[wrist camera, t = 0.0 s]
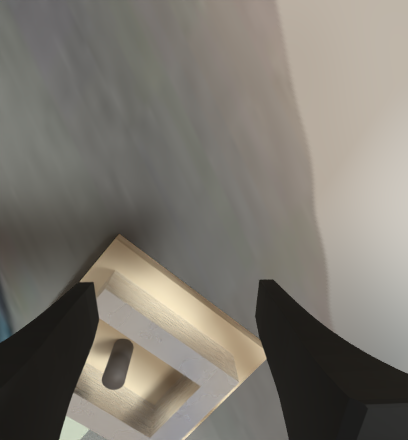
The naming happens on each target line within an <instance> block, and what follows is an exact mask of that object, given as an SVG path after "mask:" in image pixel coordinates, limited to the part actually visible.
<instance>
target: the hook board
mask: <svg viewBox="0 0 408 440" xmlns="http://www.w3.org/2000/svg"><path fill="white" fill-rule="evenodd" d="M115 270H116V271H118V272H119V273H120V274H122V275H123V276H125V277H126V278H127V279H129V280H130V281H132V282H133V283H134V284H136V285H137V286H139V287H140V288H141V289H143V290H144V291H145V292H147V293H148V294H150V295H151V296H152V297H154V298H155V299H157V300H158V301H159V302H161V303H162V304H164V305H165V306H166V307H168V308H169V309H170V310H172V311H173V312H175V313H176V314H177V315H179V316H180V317H182V318H183V319H184V320H186V321H187V322H189V323H190V324H191V325H193V326H194V327H195V328H197V329H198V330H200V331H201V332H202V333H204V334H205V335H207V336H208V337H209V338H211V339H212V340H213V341H215V342H216V343H218V344H219V345H220V346H222V347H223V348H225V349H226V350H227V351H229V352H230V353H232V354H233V356H234V361H235V365H236V370H237V375H238V379H239V383H238V384H237V385H236V386H235V387H234V388H233V389H232V390H231V391H230V392H229V393H228V394H227V395H226V396H225V397H224V398H223V399H222V400H221V401H220V402H219V403H218V404H217V405H216V406H215V407H214V408H213V409H212V410H211V411H210V412H209V413H208V414H207V415H206V416H205V417H204V418H203V419H202V420H201V421H200V422H199V423H198V424H197V425H196V426H195V427H194V428H193V429H192V430H191V431H190V432H189V433H188V434H187V435H186V436H185V437H184V438H183V439H181V440H184V439H185V438H186V437H188V436H189V435H190V434H191V433H192V432H193V431H194V430H195V429H196V428H197V427H198V426H199V425H200V424H201V423H202V422H203V421H204V420H205V419H206V418H207V417H208V416H209V415H210V414H211V413H212V412H213V411H214V410H215V409H216V408H217V407H218V406H219V405H220V404H221V403H222V402H223V401H224V400H225V399H226V398H227V397H228V396H229V395H230V394H231V393H232V392H233V391H234V390H235V389H236V388H237V387H238V386H239V385H240V384H241V383H242V382H243V381H244V380H245V379H246V378H247V377H248V376H249V375H250V374H251V373H252V372H253V371H254V370H255V369H256V368H257V367H258V366H259V365H260V364H261V363H263V362H264V361H265V360H266V359H267V358H266V355H265V352H264V349H263V346H262V343H261V340H260V339H258V338H257V337H256V336H254V335H253V334H252V333H250V332H249V331H248V330H246V329H245V328H244V327H242V326H241V325H240V324H238V323H237V322H236V321H234V320H233V319H232V318H230V317H229V316H228V315H227V314H225V313H224V312H223V311H221V310H220V309H219V308H217V307H216V306H215V305H213V304H212V303H211V302H209V301H208V300H207V299H205V298H204V297H203V296H201V295H200V294H199V293H197V292H196V291H195V290H193V289H192V288H191V287H189V286H188V285H187V284H185V283H184V282H183V281H181V280H180V279H179V278H177V277H176V276H175V275H173V274H172V273H171V272H169V271H168V270H167V269H165V268H164V267H163V266H161V265H160V264H159V263H157V262H156V261H155V260H153V259H152V258H151V257H149V256H148V255H147V254H145V253H144V252H143V251H141V250H140V249H139V248H137V247H136V246H135V245H134V244H132V243H131V242H130V241H128V240H127V239H126V238H124V237H123V236H122V235H120V234H118V236H117V237H116V238H115V239H114V241H113V242H112V243H111V244H110V245H109V247H108V248H107V249H106V250H105V251H104V253H103V254H102V255H101V256H100V257H99V259H98V260H97V261H96V262H95V264H94V265H93V266H92V267H91V268H90V270H89V271H88V272H87V273H86V274H85V276H84V277H83V278H82V279H81V280H80V282H94V287H95V294H97V293H98V291H99V289H100V288H101V287H102V286H103V285H104V283H105V282H106V281H107V280H108V279H109V277H110V276H111V275H112V274H113V273H114V272H115ZM86 363H88V364H90V365H91V366H93V367H94V368H96V369H98V370H99V371H101V372H102V373H103V376H102V384H103V385H104V386H105V387H106V388H107V389H110V390H117V389H120V388H121V387H122V386H125V387H126V388H128V389H129V390H131V391H133V392H134V393H136V394H137V395H139V396H140V397H142V398H144V399H145V400H147V401H148V402H150V403H152V404H153V405H155V404H156V403H157V402H158V400H159V399H160V398H161V397H162V396H163V395H164V394H165V393H166V392H167V391H168V390H169V389H170V388H171V387H172V386H173V385H174V384H175V383H176V382H177V381H178V380H179V379H180V378H181V377H182V376H183V374H182V373H180V372H179V371H177V370H176V369H174V368H173V367H171V366H170V365H168V364H167V363H165V362H164V361H162V360H161V359H159V358H158V357H156V356H155V355H153V354H152V353H150V352H149V351H147V350H146V349H144V348H143V347H141V346H140V345H138V344H137V343H136V342H134V341H133V340H131V339H130V338H128V337H127V336H125V335H124V334H122V333H121V332H119V331H118V330H116V329H115V328H113V327H112V326H110V325H109V324H107V323H106V322H104V321H103V320H101V319H100V318H99V323H98V327H97V331H96V335H95V339H94V342H93V345H92V347H91V350H90V353H89V355H88V358H87V360H86Z"/></svg>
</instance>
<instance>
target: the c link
mask: <svg viewBox="0 0 408 440" xmlns="http://www.w3.org/2000/svg"><path fill="white" fill-rule="evenodd" d="M96 301H97V307H98V314H99V318H100V319H101V320H103V321H104V322H106V323H107V324H109V325H110V326H112V327H113V328H115V329H116V330H118V331H119V332H121V333H122V334H124V335H125V336H127V337H128V338H130V339H131V340H133V341H134V342H136V343H137V344H138V345H140V346H141V347H143V348H144V349H146V350H147V351H149V352H150V353H152V354H153V355H155V356H156V357H158V358H159V359H161V360H162V361H164V362H165V363H167V364H168V365H170V366H171V367H173V368H174V369H176V370H177V371H179V372H180V373H182V374H183V376H182V377H181V378H180V379H179V380H178V381H177V382H176V383H175V384H174V385H173V386H172V387H171V388H170V389H169V390H168V391H167V392H166V393H165V394H164V395H163V396H162V397H161V398H160V399H159V400H158V402H157V403H156V404H155V405H153V404H152V403H150V402H148V401H147V400H145V399H144V398H142V397H140V396H139V395H137V394H136V393H134V392H133V391H131V390H129V389H128V388H126V387H125V386H122V387H121V388H120V389H117V390H110V389H107V388H106V387H105V386H104V385H103V384H102V376H103V373H102V372H101V371H99V370H98V369H96V368H94V367H93V366H91V365H90V364H88V363H85V365H84V368H83V370H82V373H81V375H80V378H79V380H78V383H77V385H76V388H75V390H74V393H73V395H72V398H71V401H70V404H69V407H68V411H67V414H66V416H68V417H69V418H71V419H73V420H74V421H76V422H78V423H80V424H81V425H83V426H85V427H87V428H88V429H90V430H92V431H94V432H95V433H97V434H99V435H101V436H102V437H104V438H106V439H108V440H181V439H183V438H184V437H185V436H186V435H187V434H188V433H189V432H190V431H191V430H192V429H193V428H194V427H195V426H196V425H197V424H198V423H199V422H200V421H201V420H202V419H203V418H204V417H205V416H206V415H207V414H208V413H209V412H210V411H211V410H212V409H213V408H214V407H215V406H216V405H217V404H218V403H219V402H220V401H221V400H222V399H223V398H224V397H225V396H226V395H227V394H228V393H229V392H230V391H231V390H232V389H233V388H234V387H235V386H236V385H237V384H238V383H239V379H238V375H237V370H236V365H235V361H234V356H233V354H232V353H230V352H229V351H227V350H226V349H225V348H223V347H222V346H220V345H219V344H218V343H216V342H215V341H213V340H212V339H211V338H209V337H208V336H207V335H205V334H204V333H202V332H201V331H200V330H198V329H197V328H195V327H194V326H193V325H191V324H190V323H189V322H187V321H186V320H184V319H183V318H182V317H180V316H179V315H177V314H176V313H175V312H173V311H172V310H170V309H169V308H168V307H166V306H165V305H164V304H162V303H161V302H159V301H158V300H157V299H155V298H154V297H152V296H151V295H150V294H148V293H147V292H145V291H144V290H143V289H141V288H140V287H139V286H137V285H136V284H134V283H133V282H132V281H130V280H129V279H127V278H126V277H125V276H123V275H122V274H120V273H119V272H118V271H116V270H115V272H114V273H113V274H112V275H111V276H110V277H109V279H108V280H107V281H106V282H105V283H104V285H103V286H102V287H101V288H100V289H99V291H98V293H97V294H96Z"/></svg>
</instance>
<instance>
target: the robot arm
mask: <svg viewBox="0 0 408 440" xmlns="http://www.w3.org/2000/svg"><path fill="white" fill-rule="evenodd" d="M255 318H256V323H257V328H258V333H259V337H260V340H261V343H262V346H263V349H264V352H265V355H266V358H267V361H268V364H269V367H270V370H271V373H272V376H273V379H274V382H275V384H276V388H277V391H278V394H279V398H280V402H281V407H282V411H283V415H284V419H285V424H286V428H287V433H288V437H289V440H408V374H407V373H405V372H402V371H400V370H398V369H396V368H394V367H392V366H390V365H388V364H386V363H384V362H382V361H380V360H378V359H376V358H374V357H372V356H371V355H369V354H367V353H365V352H363V351H362V350H360V349H359V348H357V347H355V346H354V345H352V344H350V343H349V342H347V341H346V340H344V339H343V338H341V337H340V336H338V335H337V334H335V333H334V332H332V331H331V330H330V329H328V328H327V327H326V326H324V325H323V324H322V323H320V322H319V321H318V320H317V319H315V318H314V317H313V316H312V315H310V314H309V313H308V312H307V311H306V310H305V309H304V308H302V307H301V306H300V305H299V304H298V303H297V302H296V301H295V300H294V299H293V298H292V297H291V296H289V295H288V294H287V293H286V292H285V291H284V290H283V289H282V288H281V287H280V286H279V285H278V284H277V283H276V282H275V281H274V280H259V288H258V296H257V305H256V314H255ZM98 323H99V314H98V307H97V301H96V294H95V287H94V282H79V283H78V284H76V285H75V286H74V287H73V288H72V289H70V290H69V291H68V292H67V293H66V294H65V295H63V296H62V297H61V298H60V299H59V300H58V301H56V302H55V303H54V304H53V305H52V306H50V307H49V308H48V309H47V310H46V311H44V312H43V313H42V314H40V315H39V316H38V317H37V318H35V319H34V320H33V321H31V322H30V323H29V324H27V325H26V326H25V327H23V328H22V329H21V330H19V331H18V332H16V333H15V334H13V335H12V336H11V337H9V338H7V339H6V340H4V341H3V342H1V343H0V440H59V439H60V435H61V431H62V428H63V424H64V421H65V417H66V414H67V411H68V407H69V404H70V401H71V398H72V395H73V393H74V390H75V388H76V385H77V383H78V380H79V378H80V375H81V373H82V370H83V368H84V365H85V363H86V360H87V358H88V355H89V353H90V350H91V347H92V345H93V342H94V339H95V335H96V331H97V327H98Z"/></svg>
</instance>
